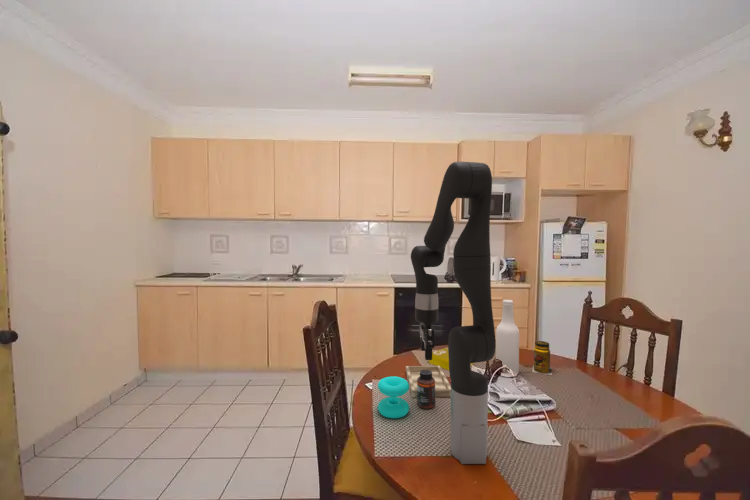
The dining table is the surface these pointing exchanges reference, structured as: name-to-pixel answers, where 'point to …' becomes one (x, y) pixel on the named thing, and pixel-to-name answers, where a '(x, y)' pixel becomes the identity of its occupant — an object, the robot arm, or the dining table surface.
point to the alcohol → (508, 338)
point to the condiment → (542, 358)
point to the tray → (440, 380)
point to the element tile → (441, 358)
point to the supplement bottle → (426, 390)
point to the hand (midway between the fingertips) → (426, 354)
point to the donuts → (393, 397)
